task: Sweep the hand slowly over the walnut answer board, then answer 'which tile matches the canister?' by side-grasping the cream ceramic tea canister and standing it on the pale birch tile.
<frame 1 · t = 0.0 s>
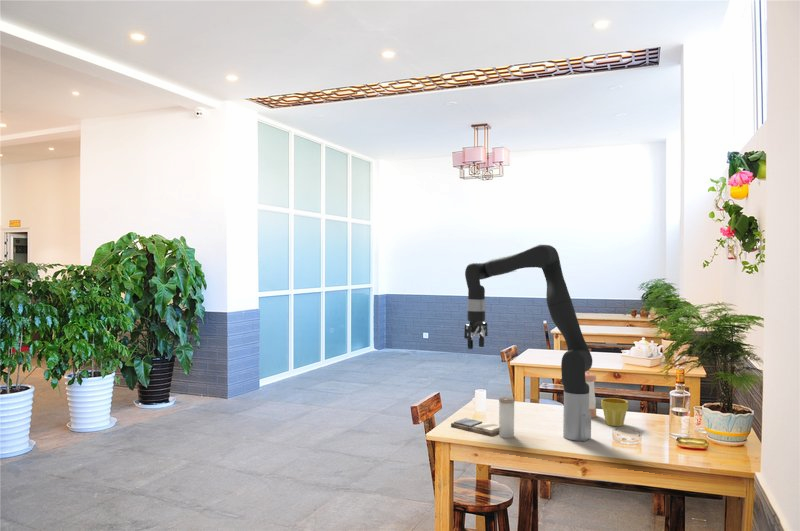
hand: (476, 347, 248), 29 cm above the table, tool pointing down, fingers open, 8 cm apart
answer board: (477, 428, 229), on the table
tea canister: (506, 435, 220), on the table
pepper shaker: (587, 415, 251), on the table
plant pot: (614, 424, 237), on the table
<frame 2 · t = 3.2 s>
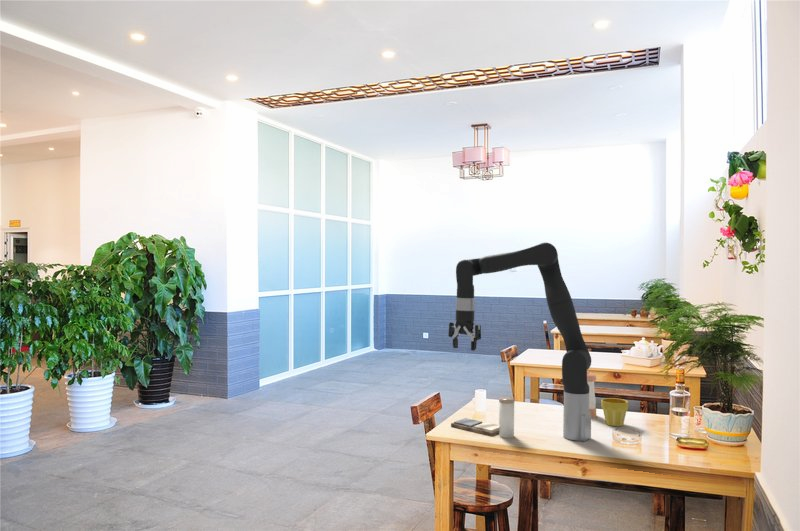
hand: (464, 349, 234), 31 cm above the table, tool pointing down, fingers open, 8 cm apart
nothing on the table moved.
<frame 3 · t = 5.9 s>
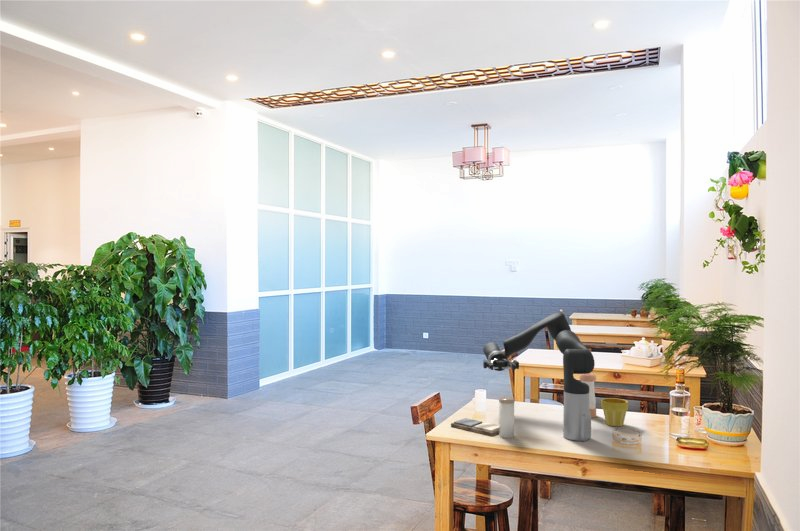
hand: (503, 367, 231), 24 cm above the table, tool horizontal, fingers open, 8 cm apart
nothing on the table moved.
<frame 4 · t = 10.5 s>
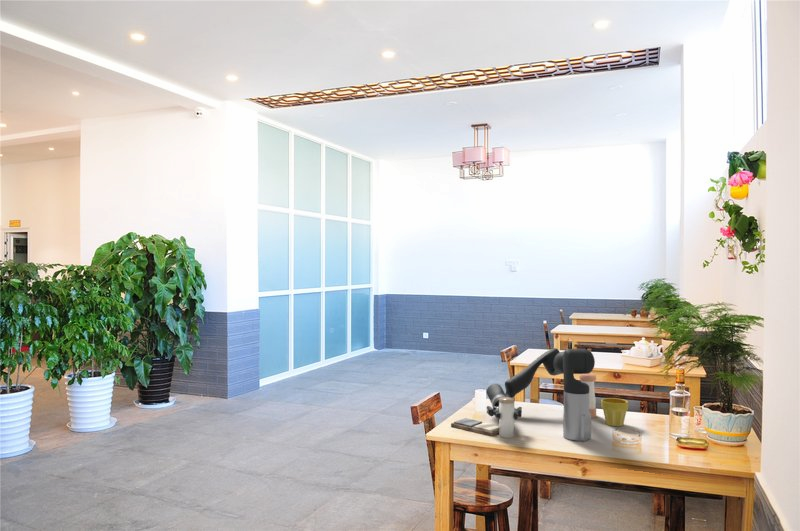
hand: (507, 416, 217), 8 cm above the table, tool horizontal, fingers closed on tea canister, 5 cm apart
tea canister: (506, 435, 220), on the table, touching gripper
everything else where it was.
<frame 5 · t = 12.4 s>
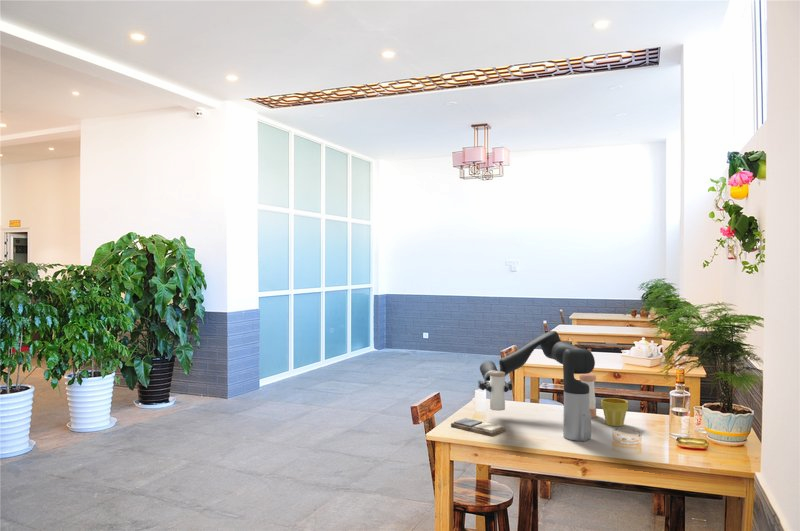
hand: (498, 389, 221), 17 cm above the table, tool horizontal, fingers closed on tea canister, 5 cm apart
tea canister: (497, 408, 223), point 9 cm above the table, touching gripper
everything else where it was.
when the fingers open (11 cm above the table, at t = 14.5 s): tea canister drops 1 cm, resting on answer board.
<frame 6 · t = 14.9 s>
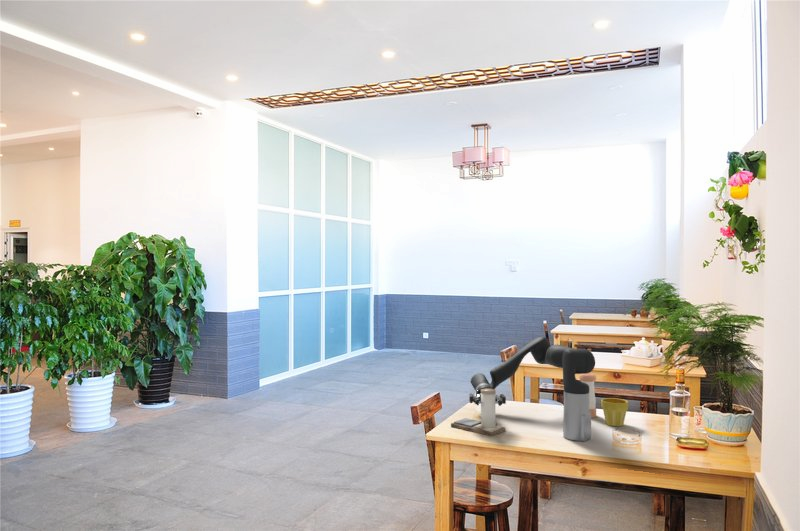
hand: (488, 403, 224), 11 cm above the table, tool horizontal, fingers open, 8 cm apart
tea canister: (488, 425, 226), point 2 cm above the table, touching answer board
everything else where it was.
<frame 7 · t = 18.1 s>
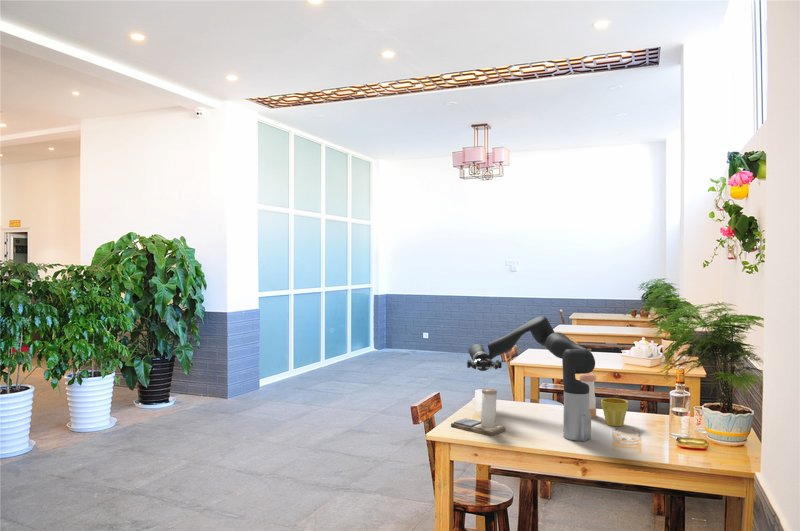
hand: (485, 366, 237), 23 cm above the table, tool horizontal, fingers open, 8 cm apart
nothing on the table moved.
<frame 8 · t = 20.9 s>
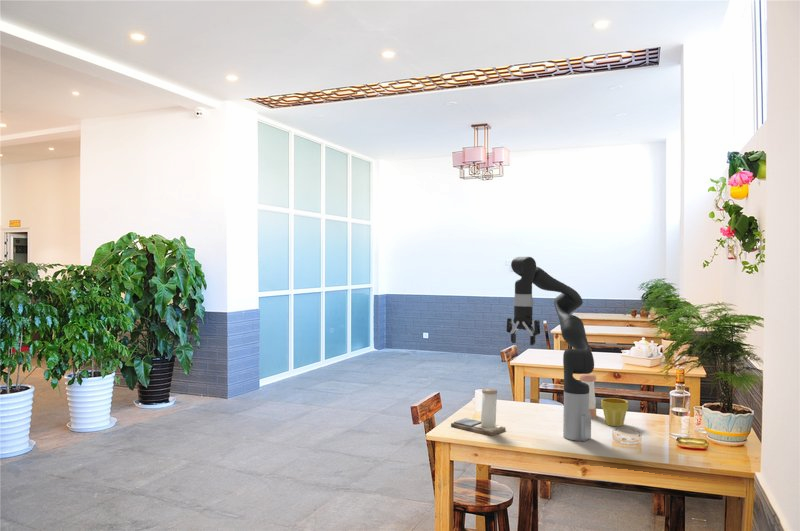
hand: (522, 344, 240), 32 cm above the table, tool pointing down, fingers open, 8 cm apart
nothing on the table moved.
at the end: tea canister inside the target area on the answer board (0.1 cm from its centre), point 1.9 cm above the answer board's base; tea canister tilted 2°; the gripper is holding nothing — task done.
